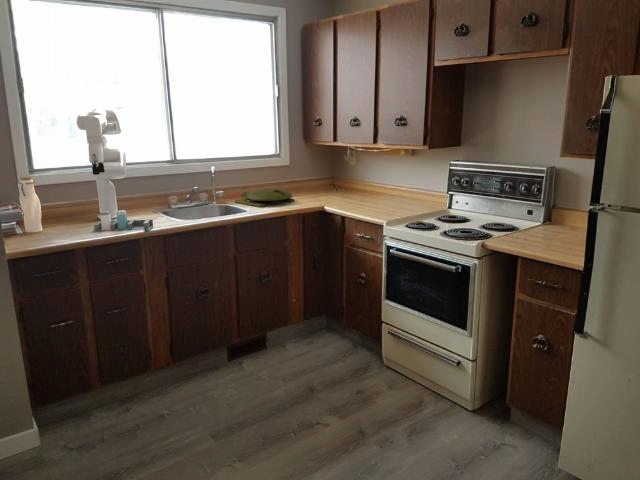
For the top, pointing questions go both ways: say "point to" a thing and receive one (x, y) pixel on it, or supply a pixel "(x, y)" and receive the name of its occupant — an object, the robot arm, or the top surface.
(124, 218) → the teal plug
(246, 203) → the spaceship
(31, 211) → the water bottle
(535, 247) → the top surface
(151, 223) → the comb rack
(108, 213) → the white plug
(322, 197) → the top surface
